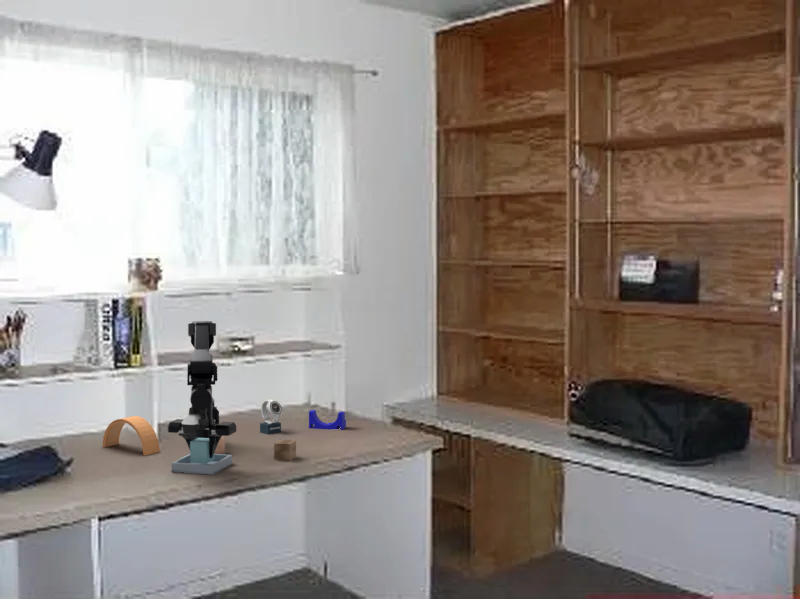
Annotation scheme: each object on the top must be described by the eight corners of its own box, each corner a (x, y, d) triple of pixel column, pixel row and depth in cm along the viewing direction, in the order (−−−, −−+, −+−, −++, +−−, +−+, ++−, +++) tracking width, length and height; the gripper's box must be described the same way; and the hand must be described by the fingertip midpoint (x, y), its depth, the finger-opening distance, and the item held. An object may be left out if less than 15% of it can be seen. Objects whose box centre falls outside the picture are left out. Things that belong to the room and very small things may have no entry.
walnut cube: (274, 459, 258) (274, 443, 257) (280, 455, 263) (280, 439, 262) (290, 460, 257) (290, 444, 256) (296, 456, 261) (296, 440, 261)
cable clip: (346, 427, 303) (346, 410, 302) (342, 430, 298) (342, 413, 298) (313, 426, 305) (312, 409, 305) (308, 428, 301) (308, 411, 301)
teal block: (190, 462, 246) (190, 441, 246) (198, 458, 251) (198, 437, 251) (206, 463, 245) (206, 442, 245) (214, 459, 250) (214, 438, 250)
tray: (171, 471, 243) (171, 463, 243) (192, 460, 256) (192, 452, 256) (213, 474, 241) (213, 465, 240) (232, 463, 253) (232, 454, 253)
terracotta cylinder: (205, 455, 263) (205, 439, 262) (212, 451, 267) (212, 435, 267) (220, 456, 261) (220, 439, 261) (227, 452, 266) (227, 436, 266)
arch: (144, 456, 262) (143, 423, 261) (102, 447, 273) (101, 415, 272) (159, 452, 266) (159, 420, 266) (117, 443, 278) (117, 412, 277)
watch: (271, 435, 290) (271, 402, 289) (256, 431, 295) (256, 399, 294) (284, 432, 294) (284, 400, 293) (270, 429, 299) (269, 397, 298)
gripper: (157, 406, 241) (158, 462, 242) (220, 409, 237) (220, 466, 238) (176, 399, 252) (177, 452, 253) (236, 402, 248) (237, 456, 249)
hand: (202, 457), depth 248 cm, fingers closed on teal block, 5 cm apart
